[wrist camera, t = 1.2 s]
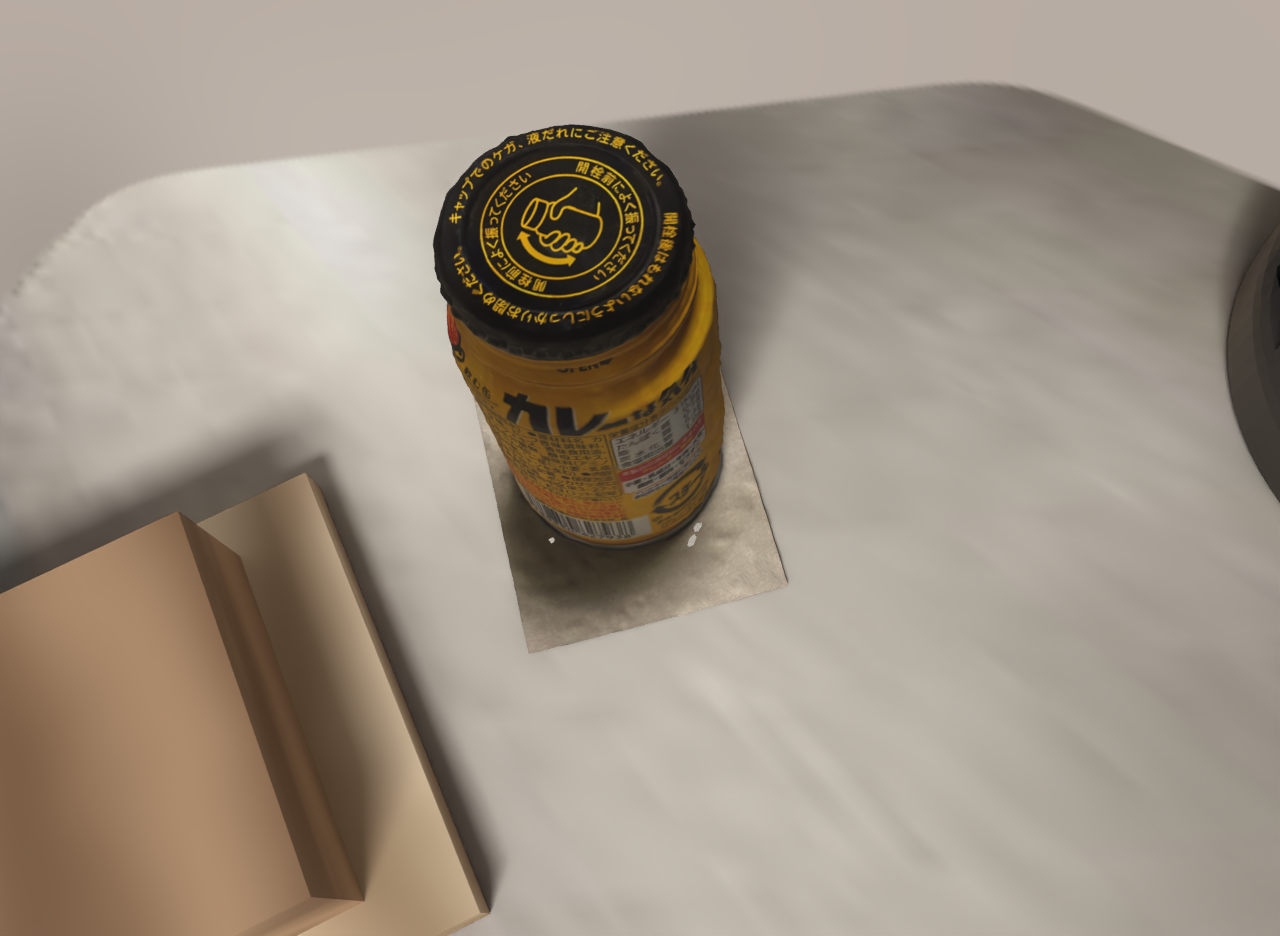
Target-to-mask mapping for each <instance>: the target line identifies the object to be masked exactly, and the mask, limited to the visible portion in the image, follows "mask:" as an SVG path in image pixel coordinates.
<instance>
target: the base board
mask: <svg viewBox="0 0 1280 936" xmlns="http://www.w3.org/2000/svg"><path fill="white" fill-rule="evenodd" d="M488 914H490V912H489V909H488V907H487V904H486V902H485V899H484V897H483V894H482V892H481V889H480V887H479V884H478V882H477V879H476V877H475V874H474V872H473V869H472V867H471V864H470V862H469V859H468V857H467V854H466V852H465V849H464V847H463V844H462V842H461V839H460V837H459V834H458V832H457V829H456V827H455V824H454V822H453V819H452V817H451V814H450V812H449V809H448V807H447V804H446V802H445V799H444V797H443V794H442V792H441V789H440V787H439V784H438V782H437V779H436V777H435V774H434V772H433V769H432V767H431V764H430V762H429V759H428V757H427V754H426V752H425V749H424V747H423V744H422V742H421V739H420V737H419V734H418V732H417V729H416V727H415V724H414V722H413V719H412V717H411V714H410V712H409V709H408V707H407V704H406V702H405V700H404V697H403V695H402V692H401V690H400V687H399V685H398V682H397V680H396V677H395V675H394V672H393V670H392V667H391V665H390V662H389V660H388V657H387V655H386V652H385V650H384V647H383V645H382V642H381V640H380V637H379V635H378V632H377V630H376V627H375V625H374V622H373V620H372V617H371V615H370V612H369V610H368V607H367V605H366V602H365V600H364V597H363V595H362V592H361V590H360V587H359V585H358V582H357V580H356V577H355V575H354V572H353V570H352V567H351V565H350V562H349V560H348V557H347V555H346V552H345V550H344V547H343V545H342V542H341V540H340V537H339V535H338V532H337V530H336V527H335V525H334V522H333V520H332V517H331V515H330V512H329V510H328V507H327V505H326V502H325V500H324V497H323V495H322V492H321V490H320V487H319V486H318V485H317V484H316V483H315V482H314V481H313V480H312V479H311V478H310V477H309V476H308V475H307V474H306V473H303V474H301V475H299V476H296V477H294V478H292V479H290V480H288V481H286V482H284V483H282V484H279V485H277V486H275V487H273V488H271V489H269V490H267V491H265V492H262V493H260V494H258V495H256V496H254V497H252V498H250V499H248V500H245V501H243V502H241V503H239V504H237V505H235V506H233V507H231V508H228V509H226V510H224V511H222V512H220V513H218V514H216V515H214V516H211V517H209V518H207V519H205V520H203V521H201V522H199V523H197V524H195V523H194V522H192V521H191V520H190V519H188V518H187V517H186V516H184V515H183V514H182V513H180V512H179V511H176V512H174V513H172V514H170V515H168V516H165V517H163V518H161V519H159V520H157V521H155V522H153V523H151V524H148V525H146V526H144V527H142V528H140V529H138V530H136V531H134V532H131V533H129V534H127V535H125V536H123V537H121V538H119V539H116V540H114V541H112V542H110V543H108V544H106V545H104V546H102V547H99V548H97V549H95V550H93V551H91V552H89V553H87V554H85V555H82V556H80V557H78V558H76V559H74V560H72V561H70V562H67V563H65V564H63V565H61V566H59V567H57V568H55V569H53V570H50V571H48V572H46V573H44V574H42V575H40V576H38V577H35V578H33V579H31V580H29V581H27V582H25V583H23V584H21V585H18V586H16V587H14V588H12V589H10V590H8V591H6V592H4V593H1V594H0V936H447V935H449V934H451V933H453V932H455V931H457V930H459V929H461V928H463V927H465V926H467V925H469V924H471V923H473V922H475V921H477V920H479V919H481V918H483V917H485V916H487V915H488Z"/></svg>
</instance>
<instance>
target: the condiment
mask: <svg viewBox="0 0 1280 936" xmlns="http://www.w3.org/2000/svg"><path fill="white" fill-rule="evenodd" d="M694 226H695V223H694V222H693V220H692V216H691V211H690V210H689V208H688V206H687V199H686V197H685V195H684V192H683V190H682V188H681V187H680V186H679V184H678V181H677V179H676V178H675V176H674V175H673V173H672V171H671V170H670V168H669V167H668V166H666V165H665V164H664V163H663V162H661V161H660V160H658V159H657V158H656V157H655V156H654V155H652V154H651V153H650V152H649V151H648V150H647V148H646V147H645V146H644V145H643V143H642V142H640V141H638V140H636V139H635V138H633V137H631V136H628V135H625V134H622V133H619V132H616V131H613V130H610V129H604V128H599V127H593V126H585V125H563V126H553V127H549V128H545V129H541V130H536V131H531V132H528V133H525V134H520V135H518V136H509V137H507V138H506V139H505V140H504V141H503V142H502V143H501V144H500V145H499V146H497V147H495V148H493V149H491V150H489V151H487V152H485V153H484V154H483V155H481V156H480V157H479V158H478V159H476V160H475V161H474V162H473V163H472V165H471V166H470V167H469V169H468V170H467V171H466V172H465V173H464V174H463V175H462V176H461V177H460V179H459V180H458V182H457V183H456V184H455V185H454V186H453V187H452V188H451V189H450V190H449V191H448V193H447V194H446V197H445V200H444V203H443V207H442V210H441V213H440V217H439V221H438V225H437V228H436V232H435V235H434V240H433V248H434V253H435V254H434V259H435V268H434V269H435V272H436V275H437V279H438V281H439V282H440V283H441V288H440V293H441V294H442V296H443V297H444V299H445V300H446V301H447V325H448V335H449V339H450V342H451V345H452V350H453V356H454V358H455V360H456V364H457V366H458V367H459V369H460V371H461V372H462V375H463V377H464V380H465V381H466V384H467V386H468V387H469V388H470V391H471V392H472V394H473V396H474V401H475V405H476V410H477V414H478V419H479V423H480V427H481V432H482V436H483V441H484V446H485V450H486V455H487V459H488V464H489V468H490V473H491V478H492V482H493V488H494V492H495V496H496V501H497V506H498V511H499V517H500V520H501V526H502V531H503V536H504V541H505V544H506V549H507V553H508V558H509V563H510V568H511V572H512V576H513V581H514V587H515V591H516V595H517V600H518V605H519V609H520V615H521V620H522V625H523V629H524V633H525V638H526V642H527V647H528V652H529V653H533V652H538V651H542V650H546V649H550V648H553V647H556V646H563V645H568V644H571V643H575V642H578V641H583V640H587V639H591V638H594V637H599V636H602V635H605V634H609V633H612V632H618V631H623V630H626V629H630V628H633V627H637V626H641V625H645V624H648V623H652V622H656V621H659V620H663V619H667V618H671V617H676V616H679V615H685V614H687V613H690V612H693V611H696V610H700V609H703V608H706V607H711V606H714V605H718V604H722V603H726V602H730V601H734V600H738V599H742V598H745V597H748V596H751V595H755V594H758V593H762V592H766V591H769V590H773V589H777V588H781V587H785V586H788V584H787V580H786V577H785V574H784V571H783V568H782V564H781V561H780V557H779V554H778V551H777V548H776V545H775V542H774V539H773V536H772V532H771V529H770V525H769V522H768V519H767V515H766V512H765V510H764V507H763V504H762V501H761V497H760V493H759V490H758V487H757V483H756V480H755V478H754V474H753V471H752V468H751V465H750V462H749V458H748V455H747V452H746V449H745V446H744V443H743V440H742V437H741V433H740V430H739V427H738V424H737V420H736V417H735V414H734V411H733V407H732V404H731V401H730V398H729V395H728V391H727V388H726V385H725V382H724V379H723V376H722V372H721V369H720V366H721V361H720V354H721V343H720V340H719V326H718V309H717V295H716V284H715V281H714V279H713V277H712V274H711V269H710V266H709V263H708V261H707V258H706V256H705V253H704V251H703V249H702V248H701V246H700V245H699V243H698V241H697V240H696V239H695V237H694V230H693V228H694ZM701 522H702V527H701V528H700V530H699V532H694V529H693V528H694V526H695V525H696V523H701ZM693 534H695V535H696V536H697V538H696V541H695V544H694V546H691V547H688V546H687V544H688V540H689V538H690V537H691V536H692V535H693ZM552 537H553V538H554V539H555V541H554V543H552V544H551V543H550V541H549V540H548V539H550V538H552Z"/></svg>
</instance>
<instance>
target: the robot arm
mask: <svg viewBox="0 0 1280 936" xmlns="http://www.w3.org/2000/svg"><path fill="white" fill-rule="evenodd" d="M1228 374H1229V383H1230V389H1231V395H1232V400H1233V404H1234V408H1235V412H1236V416H1237V419H1238V422H1239V425H1240V428H1241V431H1242V434H1243V436H1244V439H1245V441H1246V444H1247V446H1248V448H1249V451H1250V453H1251V455H1252V457H1253V459H1254V461H1255V463H1256V465H1257V467H1258V469H1259V471H1260V472H1261V474H1262V476H1263V477H1264V479H1265V481H1266V482H1267V484H1268V485H1269V487H1270V489H1271V490H1272V492H1273V493H1274V495H1275V496H1276V497H1277V499H1278V500H1279V502H1280V223H1279V224H1278V226H1277V227H1276V228H1275V230H1274V231H1273V233H1272V234H1271V235H1270V237H1269V238H1268V239H1267V241H1266V242H1265V243H1264V245H1263V246H1262V247H1261V249H1260V250H1259V252H1258V253H1257V255H1256V256H1255V258H1254V260H1253V261H1252V263H1251V265H1250V267H1249V269H1248V271H1247V273H1246V274H1245V276H1244V279H1243V281H1242V284H1241V286H1240V289H1239V291H1238V294H1237V297H1236V300H1235V304H1234V307H1233V311H1232V316H1231V321H1230V327H1229V336H1228Z"/></svg>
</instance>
